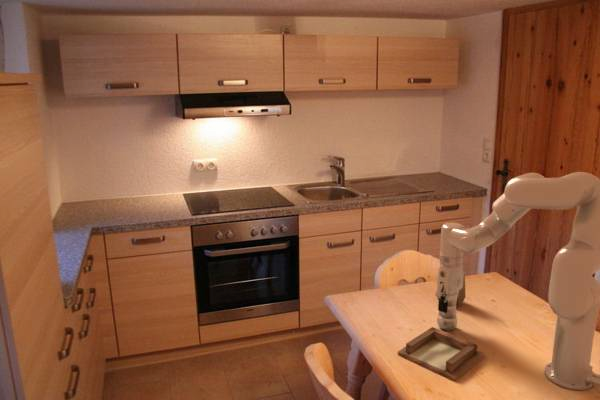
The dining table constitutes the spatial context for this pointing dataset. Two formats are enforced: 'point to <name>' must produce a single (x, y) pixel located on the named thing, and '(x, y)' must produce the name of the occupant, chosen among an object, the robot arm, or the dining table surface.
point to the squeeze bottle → (461, 294)
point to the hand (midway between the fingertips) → (447, 308)
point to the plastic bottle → (449, 313)
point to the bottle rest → (442, 353)
